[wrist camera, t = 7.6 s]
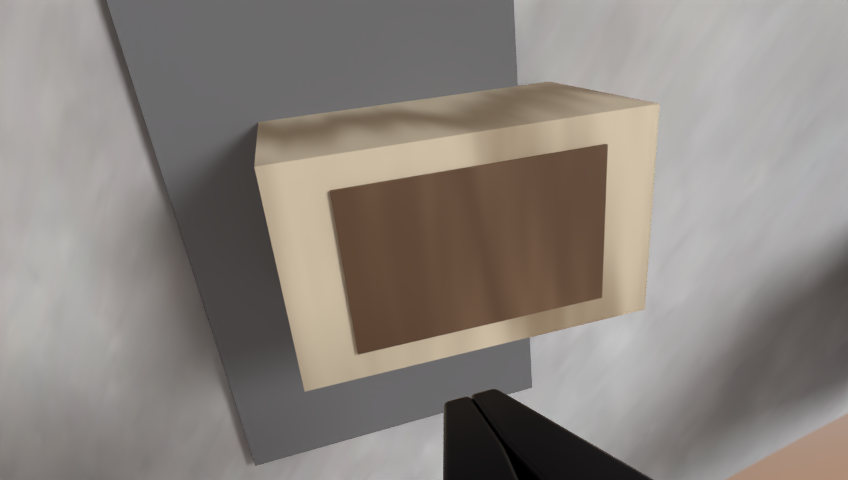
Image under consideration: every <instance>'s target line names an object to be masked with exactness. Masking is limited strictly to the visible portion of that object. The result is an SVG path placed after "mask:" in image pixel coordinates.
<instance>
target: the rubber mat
mask: <svg viewBox="0 0 848 480" xmlns="http://www.w3.org/2000/svg"><path fill="white" fill-rule="evenodd" d="M106 1H107V4H108V7H109V11H110V14H111V17H112V20H113V23H114V26H115V29H116V32H117V36H118V39H119V42H120V45H121V48H122V51H123V54H124V57H125V61H126V64H127V67H128V70H129V73H130V76H131V79H132V82H133V86H134V89H135V92H136V95H137V98H138V101H139V104H140V107H141V111H142V114H143V117H144V120H145V123H146V126H147V129H148V132H149V135H150V139H151V142H152V145H153V148H154V151H155V154H156V157H157V160H158V164H159V167H160V170H161V173H162V176H163V179H164V182H165V185H166V189H167V192H168V195H169V198H170V201H171V204H172V207H173V210H174V214H175V217H176V220H177V223H178V226H179V229H180V232H181V235H182V238H183V242H184V245H185V248H186V251H187V254H188V257H189V260H190V263H191V267H192V270H193V273H194V276H195V279H196V282H197V285H198V288H199V292H200V295H201V298H202V301H203V304H204V307H205V310H206V313H207V317H208V320H209V323H210V326H211V329H212V332H213V335H214V338H215V342H216V345H217V348H218V351H219V354H220V357H221V360H222V363H223V366H224V370H225V373H226V376H227V379H228V382H229V385H230V388H231V391H232V395H233V398H234V401H235V404H236V407H237V410H238V413H239V416H240V420H241V423H242V426H243V429H244V432H245V435H246V438H247V441H248V445H249V448H250V451H251V454H252V457H253V460H254V463H255V466H256V465H260V464H263V463H267V462H270V461H274V460H277V459H281V458H284V457H288V456H292V455H295V454H299V453H302V452H306V451H309V450H313V449H316V448H320V447H323V446H327V445H330V444H334V443H337V442H341V441H345V440H348V439H352V438H355V437H359V436H362V435H366V434H369V433H373V432H376V431H380V430H383V429H387V428H390V427H394V426H398V425H401V424H405V423H408V422H412V421H415V420H419V419H422V418H426V417H429V416H433V415H436V414H440V413H443V412H444V404H445V403H446V402H447V401H451V400H454V399H458V398H461V397H465V396H467V397H470V398H471V396H472V395H473V394H475V393H479V392H482V391H486V390H489V389H497V390H499V391H501V392H503V393H504V394H506V395H507V394H511V393H514V392H518V391H521V390H525V389H528V388H532V379H531V358H530V337H529V338H524V339H520V340H516V341H512V342H508V343H504V344H500V345H496V346H491V347H487V348H483V349H479V350H475V351H471V352H467V353H463V354H458V355H454V356H450V357H446V358H442V359H438V360H434V361H430V362H425V363H421V364H417V365H413V366H409V367H405V368H401V369H397V370H392V371H388V372H384V373H380V374H376V375H372V376H368V377H363V378H359V379H355V380H351V381H347V382H343V383H339V384H335V385H330V386H326V387H322V388H318V389H314V390H310V391H306V392H305V391H304V387H303V382H302V378H301V373H300V369H299V364H298V360H297V355H296V351H295V346H294V342H293V337H292V333H291V329H290V324H289V320H288V315H287V311H286V306H285V302H284V297H283V293H282V288H281V284H280V280H279V275H278V271H277V266H276V262H275V257H274V253H273V248H272V244H271V239H270V235H269V231H268V226H267V222H266V217H265V213H264V208H263V204H262V199H261V195H260V190H259V186H258V182H257V177H256V173H255V168H254V163H255V152H256V142H257V131H258V122H263V121H270V120H277V119H284V118H291V117H299V116H306V115H313V114H320V113H327V112H335V111H342V110H349V109H356V108H363V107H370V106H378V105H385V104H392V103H399V102H406V101H414V100H421V99H428V98H435V97H442V96H449V95H457V94H464V93H471V92H478V91H485V90H493V89H500V88H507V87H514V86H517V65H516V44H515V23H514V2H513V0H106Z"/></svg>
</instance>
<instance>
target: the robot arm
mask: <svg viewBox="0 0 848 480" xmlns="http://www.w3.org/2000/svg"><path fill="white" fill-rule="evenodd" d="M443 480H653V479H651V478H650V477H648V476H646V475H644V474H643V473H641V472H639V471H637V470H636V469H634V468H632V467H631V466H629V465H627V464H625V463H624V462H622V461H620V460H618V459H617V458H615V457H613V456H612V455H610V454H608V453H606V452H605V451H603V450H601V449H599V448H598V447H596V446H594V445H593V444H591V443H589V442H587V441H586V440H584V439H582V438H580V437H579V436H577V435H575V434H574V433H572V432H570V431H568V430H567V429H565V428H563V427H561V426H560V425H558V424H556V423H555V422H553V421H551V420H549V419H548V418H546V417H544V416H542V415H541V414H539V413H537V412H536V411H534V410H532V409H530V408H529V407H527V406H525V405H523V404H522V403H520V402H518V401H517V400H515V399H513V398H511V397H510V396H508V395H506V394H504V393H503V392H501V391H499V390H497V389H489V390H486V391H482V392H479V393H475V394H473V395H472V396H471V398H470V397H467V396H465V397H461V398H458V399H454V400H451V401H447V402H446V403H445V404H444V452H443Z"/></svg>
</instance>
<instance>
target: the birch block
mask: <svg viewBox="0 0 848 480" xmlns="http://www.w3.org/2000/svg"><path fill="white" fill-rule="evenodd" d="M659 106H660V104H659V103H654V102H649V101H644V100H639V99H634V98H629V97H624V96H619V95H614V94H609V93H603V92H598V91H593V90H588V89H583V88H578V87H573V86H568V85H563V84H558V83H553V82H543V83H536V84H528V85H521V86H514V87H507V88H500V89H493V90H485V91H478V92H471V93H464V94H457V95H449V96H442V97H435V98H428V99H421V100H414V101H406V102H399V103H392V104H385V105H378V106H370V107H363V108H356V109H349V110H342V111H335V112H327V113H320V114H313V115H306V116H299V117H291V118H284V119H277V120H270V121H263V122H258V131H257V142H256V152H255V163H254V168H255V173H256V177H257V182H258V186H259V190H260V195H261V199H262V204H263V208H264V213H265V217H266V222H267V226H268V231H269V235H270V239H271V244H272V248H273V253H274V257H275V262H276V266H277V271H278V275H279V280H280V284H281V288H282V293H283V297H284V302H285V306H286V311H287V315H288V320H289V324H290V329H291V333H292V337H293V342H294V346H295V351H296V355H297V360H298V364H299V369H300V373H301V378H302V382H303V387H304V391H305V392H306V391H310V390H314V389H318V388H322V387H326V386H330V385H335V384H339V383H343V382H347V381H351V380H355V379H359V378H363V377H368V376H372V375H376V374H380V373H384V372H388V371H392V370H397V369H401V368H405V367H409V366H413V365H417V364H421V363H425V362H430V361H434V360H438V359H442V358H446V357H450V356H454V355H458V354H463V353H467V352H471V351H475V350H479V349H483V348H487V347H491V346H496V345H500V344H504V343H508V342H512V341H516V340H520V339H524V338H529V337H533V336H537V335H541V334H545V333H549V332H553V331H557V330H562V329H566V328H570V327H574V326H578V325H582V324H586V323H590V322H595V321H599V320H603V319H607V318H611V317H615V316H619V315H623V314H628V313H632V312H636V311H640V310H644V309H645V298H646V285H647V271H648V257H649V244H650V230H651V216H652V202H653V189H654V175H655V161H656V148H657V134H658V120H659Z"/></svg>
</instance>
